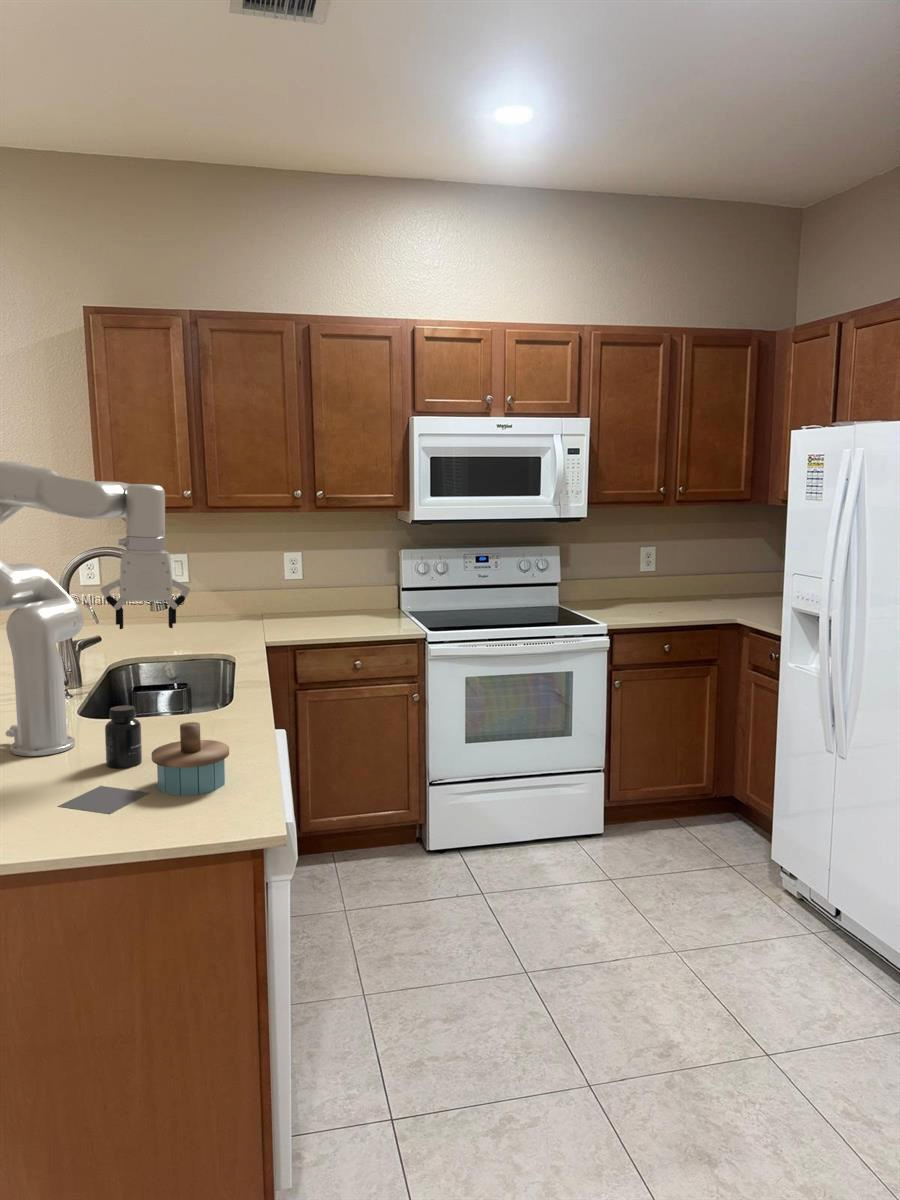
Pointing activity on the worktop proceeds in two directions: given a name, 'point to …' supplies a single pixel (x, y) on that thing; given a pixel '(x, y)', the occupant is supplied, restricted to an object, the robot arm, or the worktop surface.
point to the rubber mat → (104, 799)
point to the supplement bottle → (123, 738)
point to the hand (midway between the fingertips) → (146, 627)
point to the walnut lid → (190, 750)
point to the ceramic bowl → (191, 779)
